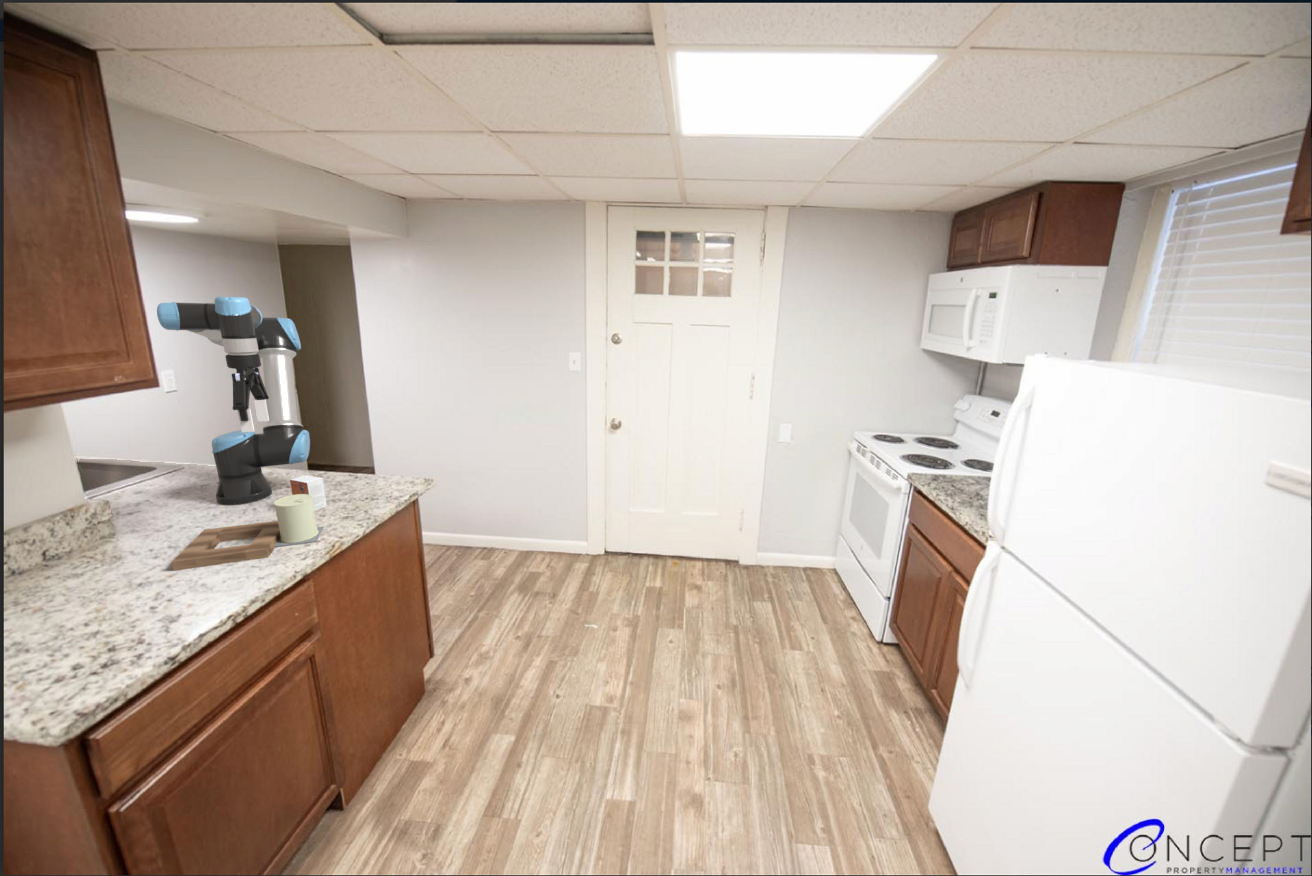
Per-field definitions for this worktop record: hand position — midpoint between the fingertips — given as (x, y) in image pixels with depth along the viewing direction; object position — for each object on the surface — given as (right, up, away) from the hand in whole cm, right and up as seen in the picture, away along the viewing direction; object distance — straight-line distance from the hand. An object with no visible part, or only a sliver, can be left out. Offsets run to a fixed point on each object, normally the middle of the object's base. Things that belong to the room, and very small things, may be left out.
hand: (256, 426), depth 145 cm
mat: (+12, -33, +1) cm, 35 cm away
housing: (-1, -34, -5) cm, 35 cm away
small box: (+1, -27, +22) cm, 35 cm away
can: (+12, -33, +1) cm, 35 cm away
